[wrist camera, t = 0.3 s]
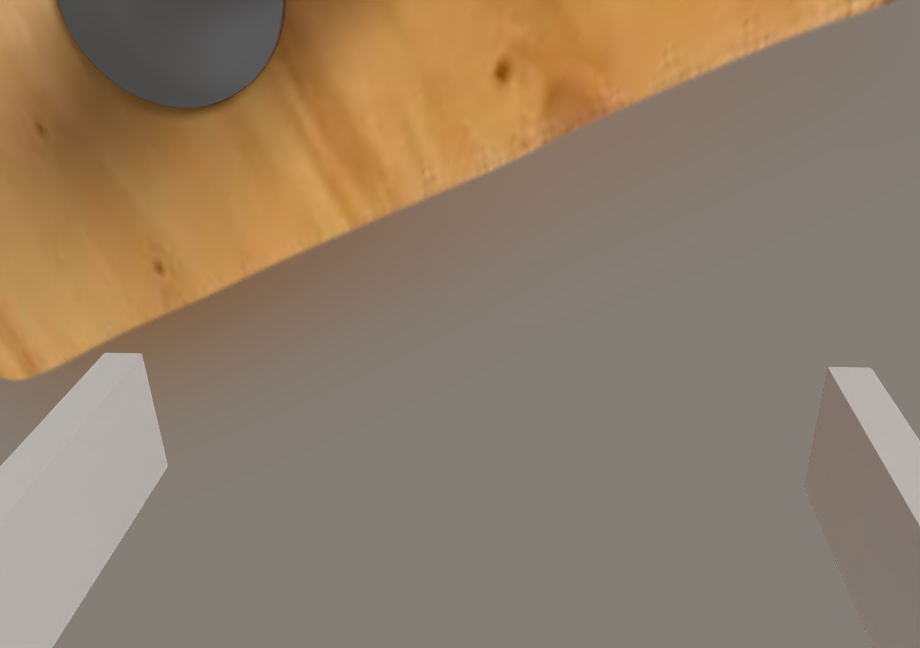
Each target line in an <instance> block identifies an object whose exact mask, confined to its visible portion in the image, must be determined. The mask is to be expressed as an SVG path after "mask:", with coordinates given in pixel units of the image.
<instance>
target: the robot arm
mask: <svg viewBox="0 0 920 648" xmlns="http://www.w3.org/2000/svg"><path fill="white" fill-rule="evenodd" d="M167 467H168V465H167V461H166V456H165V452H164V447H163V443H162V439H161V434H160V431H159V426H158V421H157V417H156V413H155V408H154V404H153V400H152V395H151V391H150V387H149V383H148V378H147V374H146V369H145V365H144V361H143V357H142V354H136V353H135V354H133V353H104V354H103V355H102V357H101V358H100V359H99V360H98V361H97V362H96V363H95V364H94V365H93V366H92V367H91V368H90V370H89V371H88V372H87V373H86V374H85V375H84V376H83V377H82V378H81V379H80V381H78V383H77V384H76V385H75V386H74V387H73V388H72V389H71V390H70V391H69V392H68V393H67V394H66V396H65V397H64V398H63V399H62V400H61V401H60V402H59V403H58V404H57V405H56V406H55V407H54V409H53V410H52V411H51V412H50V413H49V414H48V415H47V416H46V417H45V418H44V419H43V421H42V422H41V423H40V424H39V425H38V426H37V427H36V428H35V429H34V430H33V431H32V432H31V433H30V435H29V436H28V437H27V438H26V439H25V440H24V441H23V442H22V443H21V444H20V446H19V447H18V448H17V449H16V450H15V451H14V452H13V453H12V454H11V455H10V456H9V458H7V460H6V461H5V462H4V463H3V464H2V465H1V466H0V648H52V647H53V646H54V644H55V642H56V641H57V639H58V638H59V636H60V634H61V633H62V631H63V630H64V628H65V627H66V625H67V624H68V622H69V621H70V619H71V617H72V616H73V614H74V613H75V611H76V609H77V608H78V606H79V605H80V603H81V602H82V600H83V599H84V597H85V595H86V594H87V592H88V591H89V589H90V588H91V586H92V584H93V583H94V581H95V580H96V578H97V577H98V575H99V573H100V572H101V570H102V569H103V567H104V566H105V564H106V562H107V561H108V559H109V558H110V556H111V554H112V553H113V551H114V550H115V548H116V547H117V545H118V544H119V542H120V540H121V539H122V537H123V535H124V534H125V533H126V531H127V529H128V528H129V526H130V525H131V523H132V522H133V520H134V519H135V517H136V515H137V514H138V512H139V511H140V509H141V508H142V506H143V504H144V503H145V501H146V500H147V498H148V497H149V495H150V493H151V492H152V490H153V489H154V487H155V486H156V484H157V482H158V481H159V479H160V478H161V476H162V474H163V473H164V471H165V470H166V468H167ZM804 488H805V490H806V493H807V495H808V497H809V500H810V502H811V504H812V507H813V509H814V511H815V513H816V516H817V518H818V520H819V523H820V525H821V528H822V530H823V532H824V534H825V537H826V539H827V542H828V544H829V547H830V549H831V551H832V553H833V556H834V558H835V561H836V563H837V565H838V568H839V570H840V572H841V575H842V577H843V579H844V582H845V584H846V586H847V589H848V591H849V593H850V596H851V598H852V600H853V603H854V605H855V608H856V610H857V612H858V615H859V617H860V619H861V622H862V624H863V626H864V629H865V631H866V633H867V636H868V638H869V640H870V643H871V645H872V647H873V648H920V441H919V439H918V438H917V436H916V435H915V433H914V432H913V430H912V429H911V427H910V426H909V424H908V423H907V421H906V420H905V418H904V417H903V415H902V414H901V412H900V411H899V409H898V408H897V406H896V405H895V403H894V402H893V400H892V399H891V397H890V396H889V394H888V393H887V391H886V390H885V388H884V387H883V385H882V384H881V382H880V381H879V379H878V378H877V376H876V375H875V373H874V372H873V370H872V369H871V368H852V367H828V368H827V374H826V379H825V383H824V388H823V394H822V399H821V403H820V408H819V414H818V418H817V424H816V428H815V434H814V439H813V444H812V448H811V454H810V458H809V463H808V468H807V473H806V478H805V484H804Z"/></svg>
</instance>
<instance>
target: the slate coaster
mask: <svg viewBox="0 0 920 648" xmlns="http://www.w3.org/2000/svg"><path fill="white" fill-rule="evenodd" d="M57 1H58V4H59V7H60V11H61V13H62V15H63V18H64V20H65V23H66V25H67V27H68V29H69V31H70V32H71V34H72V36H73V38H74V40H75V41H76V43H77V44H78V46H79V47H80V48H81V50H82V51H83V53H84V54H85V55H86V57H87V58H88V59H89V60H90V61H91V62H92V63H93V65H94V66H95V67H96V68H97V69H98V70H99V71H101V72H102V73H103V74H104V75H105V76H106V77H107V78H108V79H110V80H111V81H112V82H114V83H115V84H116V85H118V86H119V87H121V88H122V89H124V90H126V91H127V92H129V93H131V94H132V95H135V96H137V97H139V98H141V99H144V100H146V101H149V102H152V103H156V104H159V105H164V106H170V107H179V108H192V107H202V106H206V105H210V104H214V103H217V102H219V101H222V100H224V99H227V98H229V97H230V96H232V95H234V94H235V93H237V92H239V91H240V90H242V89H243V88H245V87H246V86H247V85H248V84H250V83H251V82H252V81H253V80H254V79H255V78H256V77H257V76H258V75H259V74H260V73H261V72H262V71H263V70H264V68H265V67H266V65H267V64H268V62H269V61H270V59H271V57H272V55H273V53H274V51H275V49H276V47H277V45H278V42H279V38H280V35H281V32H282V27H283V22H284V16H285V0H57Z"/></svg>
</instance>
